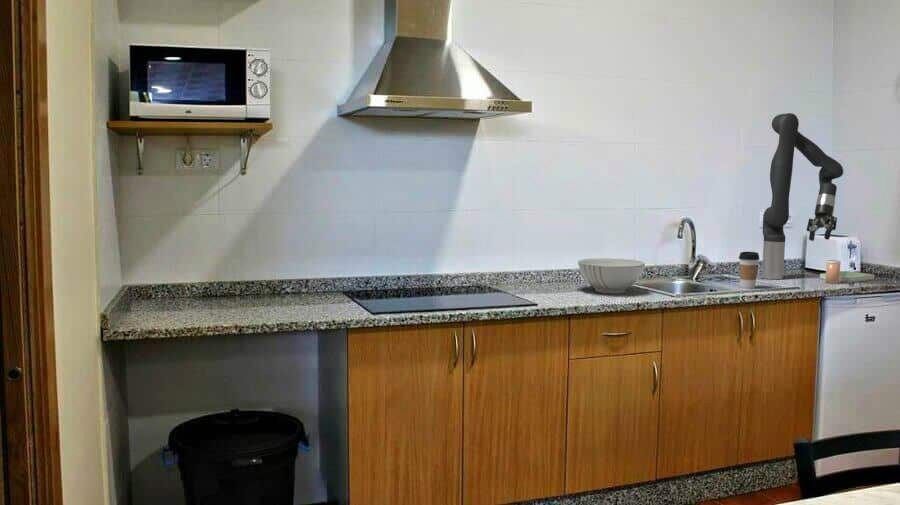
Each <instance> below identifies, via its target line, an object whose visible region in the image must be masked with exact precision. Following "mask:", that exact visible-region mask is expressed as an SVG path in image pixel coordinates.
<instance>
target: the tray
mask: <svg viewBox="0 0 900 505" xmlns="http://www.w3.org/2000/svg"><path fill="white" fill-rule="evenodd" d="M819 280H823V281H824V280H825V281H826V272H823V273H820V274H819ZM874 280H875V274H873V273H865V272H858V271H849V270H843V271H841V270H840V277H839V283H846V284H852V283H853V284H854V283H861V282H869V281H874Z"/></svg>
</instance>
